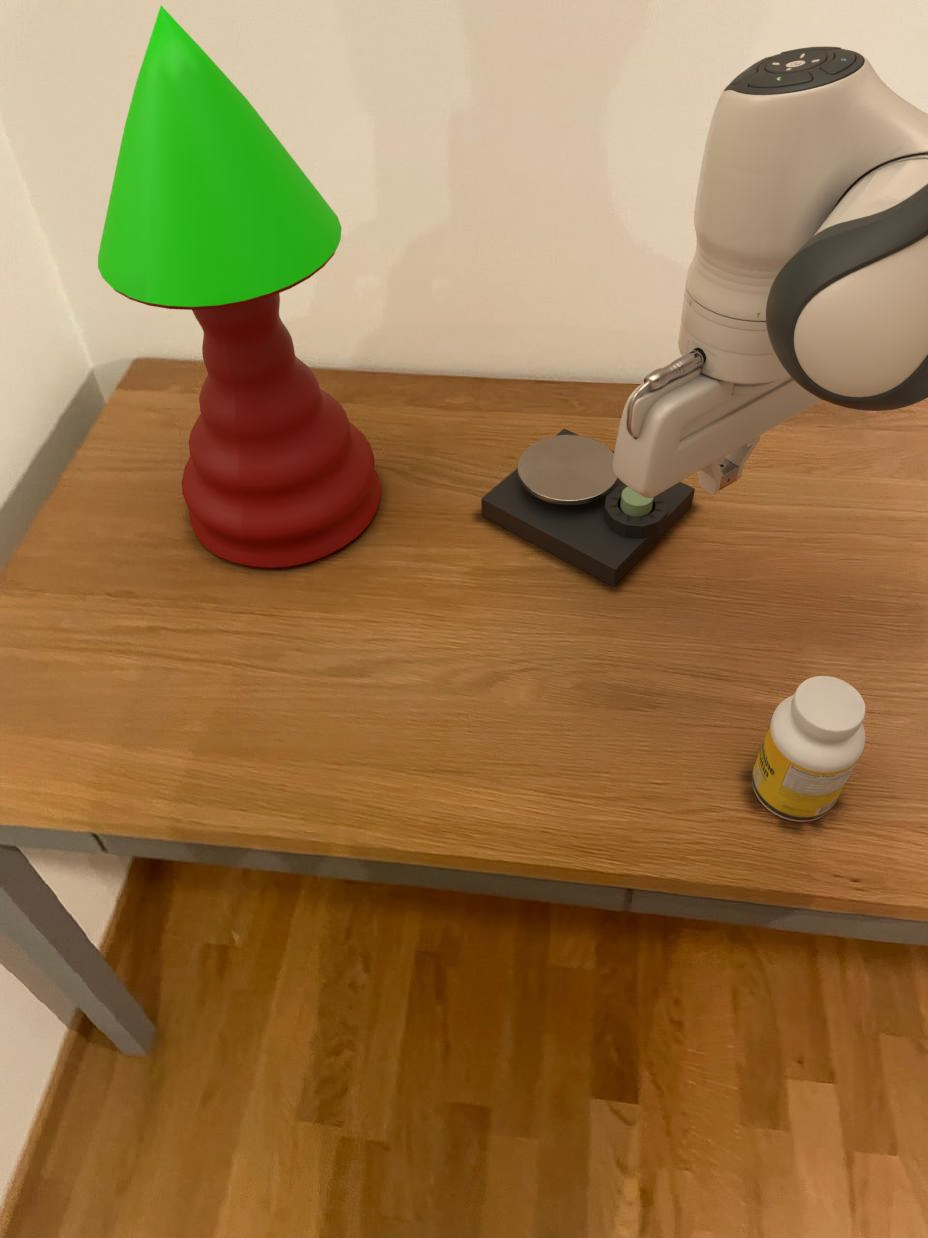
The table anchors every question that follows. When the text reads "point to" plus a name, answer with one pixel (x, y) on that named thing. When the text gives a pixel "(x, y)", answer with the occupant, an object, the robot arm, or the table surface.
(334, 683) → the table surface
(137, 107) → the table lamp
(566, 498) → the scale pan
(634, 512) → the button
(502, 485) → the scale
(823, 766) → the pill bottle
